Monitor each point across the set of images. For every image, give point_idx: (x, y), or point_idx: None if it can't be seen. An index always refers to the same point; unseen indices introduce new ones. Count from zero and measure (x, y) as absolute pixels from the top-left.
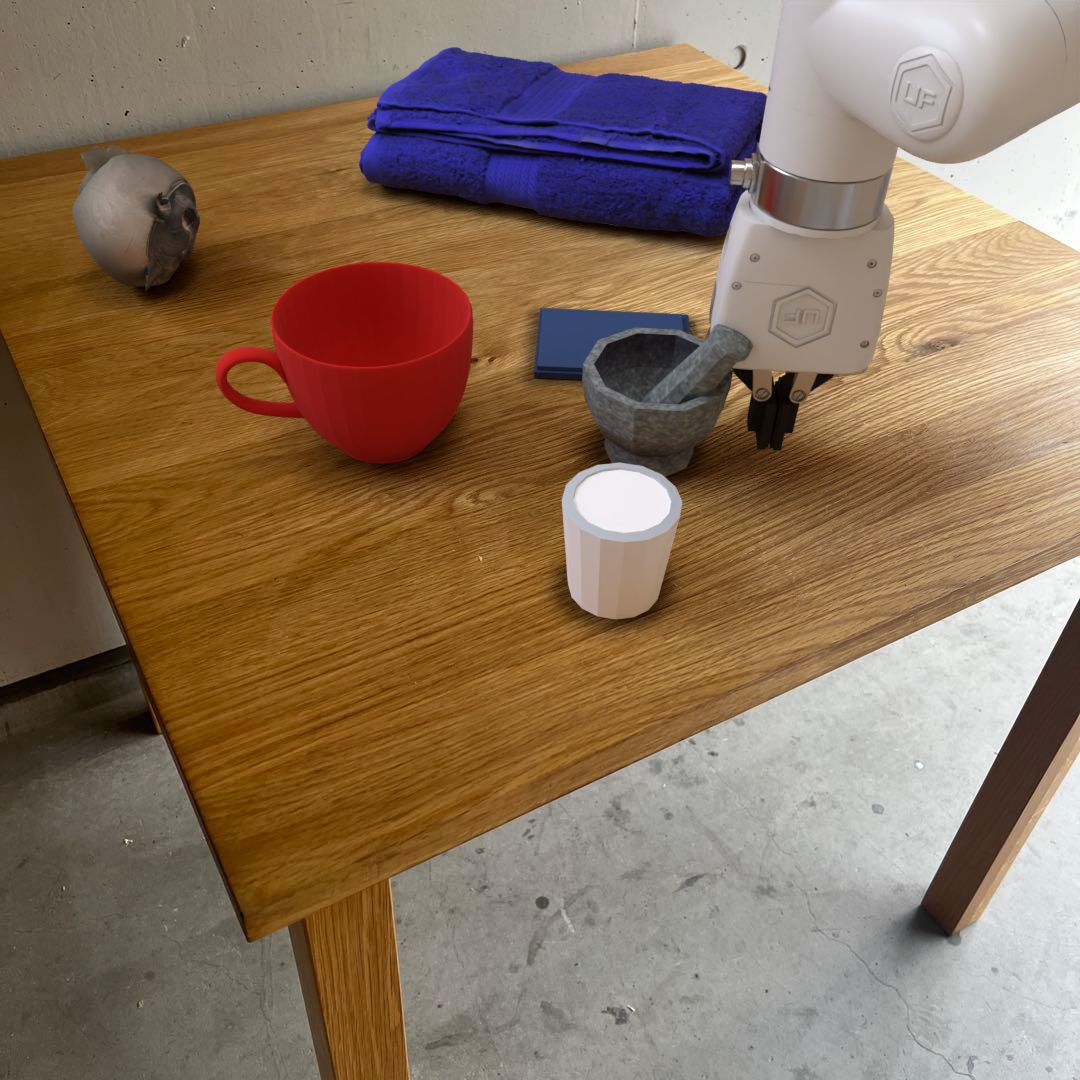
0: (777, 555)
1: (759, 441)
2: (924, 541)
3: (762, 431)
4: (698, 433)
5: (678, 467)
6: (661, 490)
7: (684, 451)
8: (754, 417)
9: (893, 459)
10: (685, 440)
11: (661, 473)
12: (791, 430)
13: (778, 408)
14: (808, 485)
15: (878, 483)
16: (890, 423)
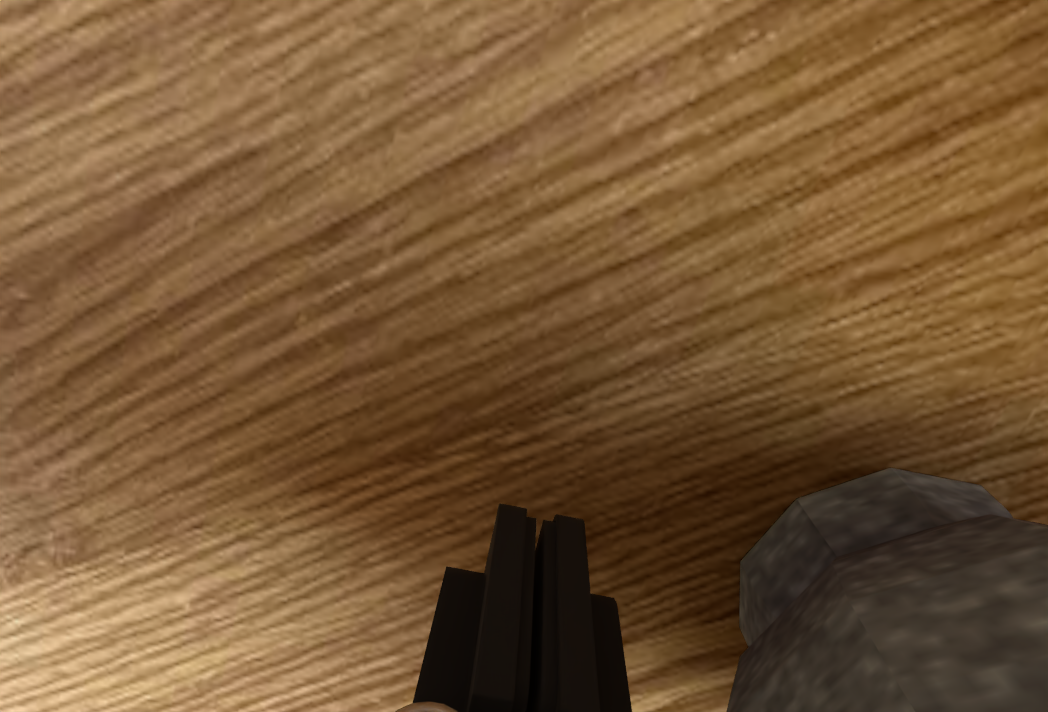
0: (648, 7)
1: (584, 544)
2: (50, 27)
3: (586, 579)
4: (958, 586)
5: (837, 497)
6: None
7: (838, 547)
8: (612, 650)
9: (118, 457)
10: (1027, 554)
11: (908, 478)
12: (451, 576)
13: (528, 683)
14: (419, 376)
15: (182, 358)
16: (109, 597)
